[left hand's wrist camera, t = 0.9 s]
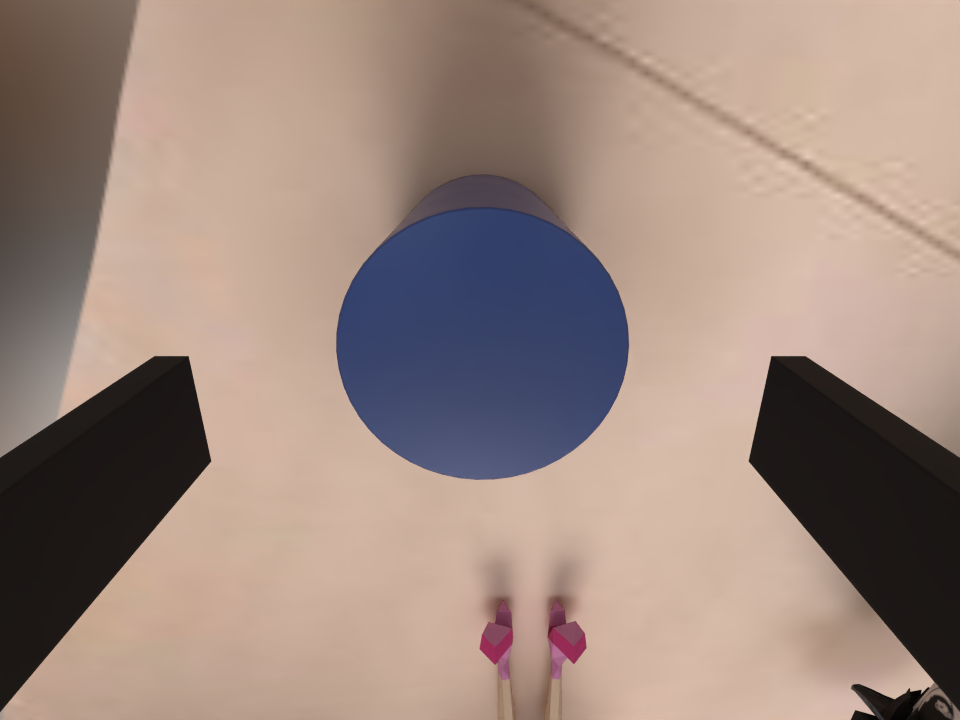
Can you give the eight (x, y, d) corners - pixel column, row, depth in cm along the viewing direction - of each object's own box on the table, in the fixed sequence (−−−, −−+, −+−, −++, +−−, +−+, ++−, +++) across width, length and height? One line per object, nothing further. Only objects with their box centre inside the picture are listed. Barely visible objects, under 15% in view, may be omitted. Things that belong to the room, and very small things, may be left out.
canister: (411, 345, 28) (362, 489, 17) (387, 183, 25) (307, 222, 14) (566, 332, 28) (627, 470, 16) (562, 166, 25) (632, 192, 13)
